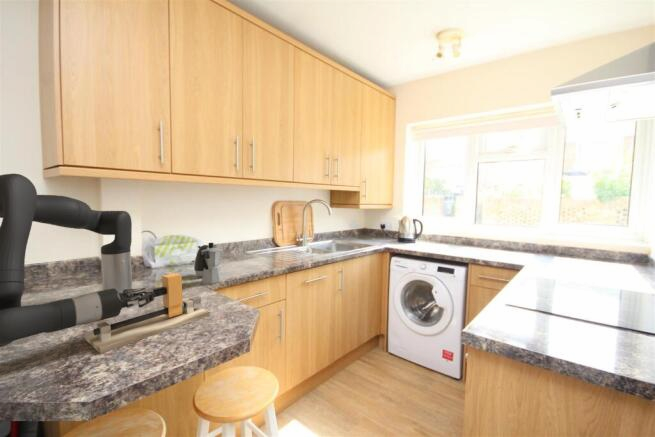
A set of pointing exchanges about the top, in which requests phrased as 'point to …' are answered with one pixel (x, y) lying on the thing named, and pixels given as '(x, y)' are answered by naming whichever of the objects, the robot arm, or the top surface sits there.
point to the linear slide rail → (143, 326)
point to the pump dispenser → (199, 261)
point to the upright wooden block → (172, 294)
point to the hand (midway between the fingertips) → (165, 290)
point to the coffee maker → (211, 265)
